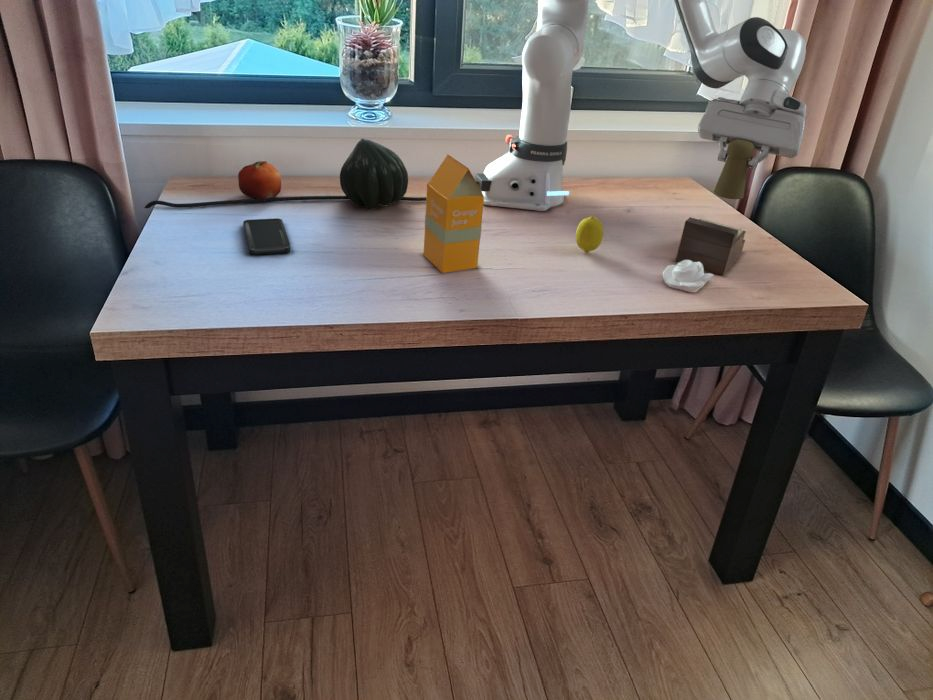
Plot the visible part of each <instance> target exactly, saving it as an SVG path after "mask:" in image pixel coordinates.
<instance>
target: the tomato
mask: <svg viewBox="0 0 933 700" xmlns="http://www.w3.org/2000/svg"><path fill="white" fill-rule="evenodd" d="M237 178H238V188H239V191H240V192H241V193H242V194H243V195H244V196H246V197H249V198H251V199H267V198H274V197H278V195H279V194H281V190H282V178H281V174H280V172H279V170H278V169H277V168H276V167H275V166H274V165H273V164H271V163H268V161H266V160H264V161H262V160H261V161H259V160H258V161H256V162H254V163H252V164H248V165H245V166H243V167H242V168H241V169H240V170H239V171H238V173H237Z"/></svg>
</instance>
